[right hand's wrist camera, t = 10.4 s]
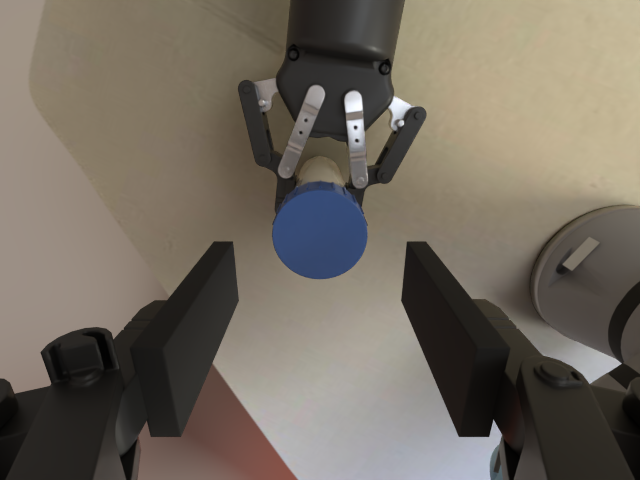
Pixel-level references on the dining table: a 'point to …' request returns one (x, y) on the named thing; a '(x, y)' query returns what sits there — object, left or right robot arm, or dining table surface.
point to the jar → (320, 171)
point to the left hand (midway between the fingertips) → (315, 224)
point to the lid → (319, 230)
